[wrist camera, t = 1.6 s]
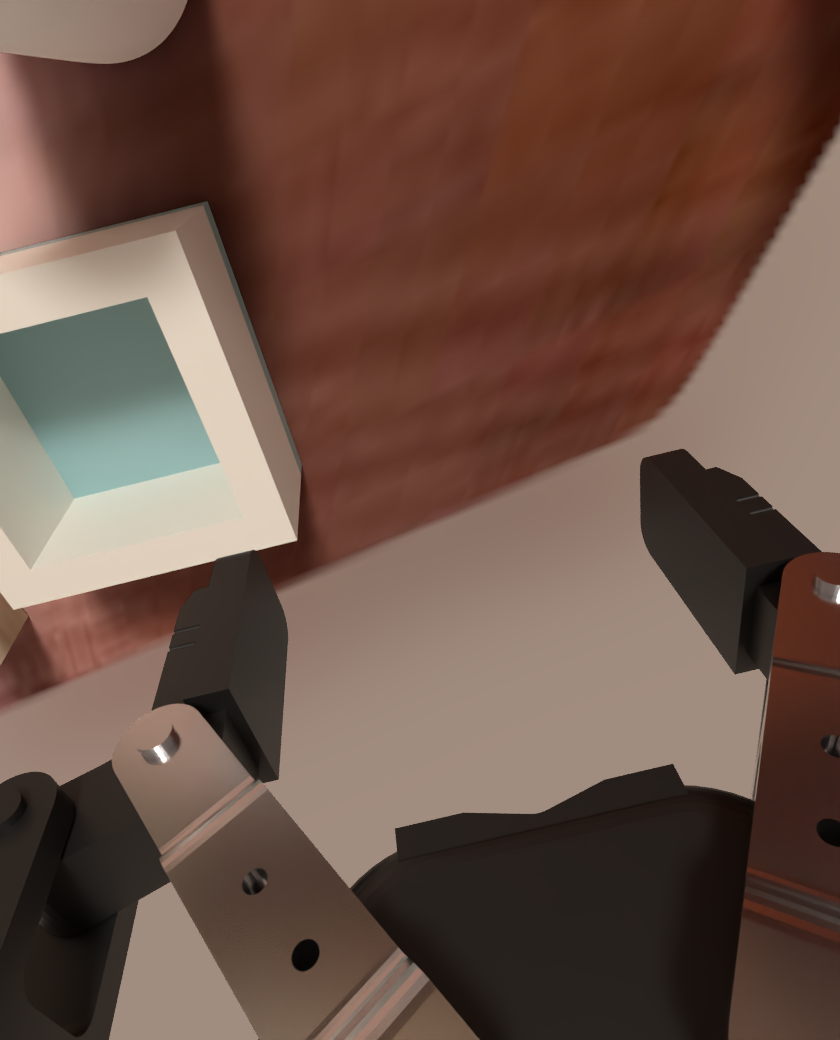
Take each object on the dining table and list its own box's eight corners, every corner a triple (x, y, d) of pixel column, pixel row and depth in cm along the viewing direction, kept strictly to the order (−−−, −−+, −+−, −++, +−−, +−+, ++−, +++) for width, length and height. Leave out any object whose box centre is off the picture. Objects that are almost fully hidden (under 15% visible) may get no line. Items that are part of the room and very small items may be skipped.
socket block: (207, 201, 23) (175, 230, 18) (301, 464, 29) (297, 540, 24) (-90, 275, 23) (-203, 325, 18) (66, 522, 29) (13, 609, 24)
